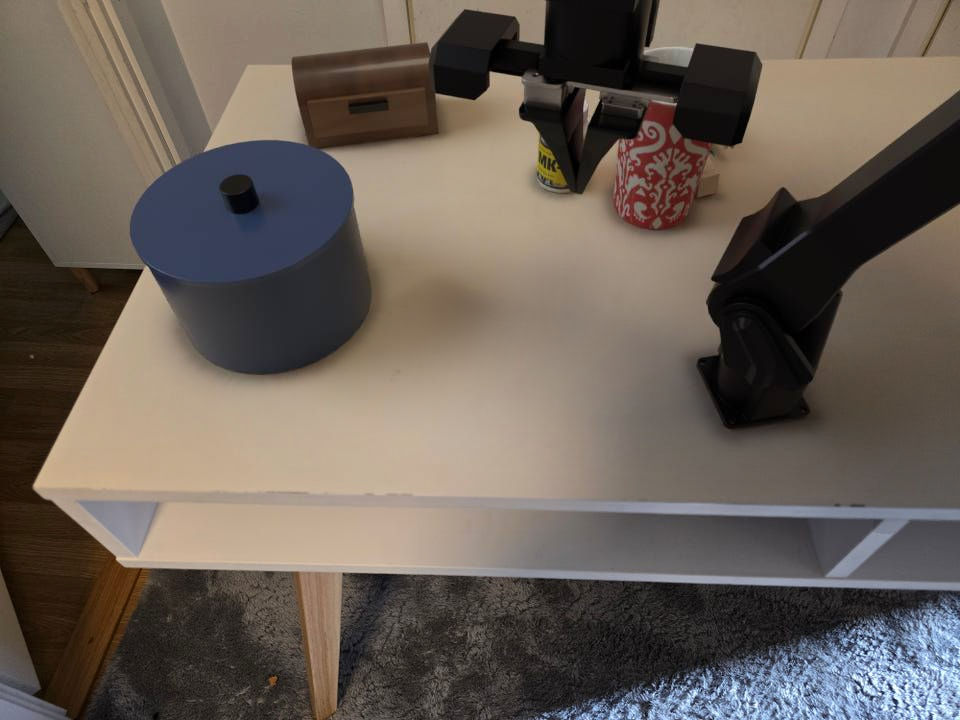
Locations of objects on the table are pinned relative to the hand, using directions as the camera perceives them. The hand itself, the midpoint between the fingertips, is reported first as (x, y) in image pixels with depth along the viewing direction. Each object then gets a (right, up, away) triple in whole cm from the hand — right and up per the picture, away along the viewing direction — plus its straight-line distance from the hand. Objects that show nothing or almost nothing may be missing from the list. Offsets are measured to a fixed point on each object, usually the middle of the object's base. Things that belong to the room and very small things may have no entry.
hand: (578, 190), depth 47 cm
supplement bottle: (+1, +6, +22) cm, 23 cm away
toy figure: (+15, +10, +24) cm, 30 cm away
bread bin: (-19, +15, +29) cm, 37 cm away
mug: (+10, +4, +20) cm, 23 cm away
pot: (-24, -7, +12) cm, 28 cm away
